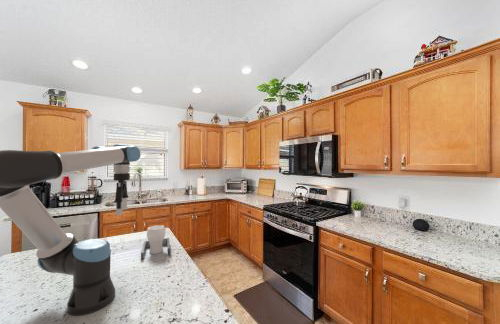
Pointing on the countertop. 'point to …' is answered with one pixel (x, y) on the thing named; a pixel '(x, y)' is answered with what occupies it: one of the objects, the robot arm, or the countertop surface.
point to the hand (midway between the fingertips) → (121, 212)
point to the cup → (156, 238)
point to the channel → (147, 244)
